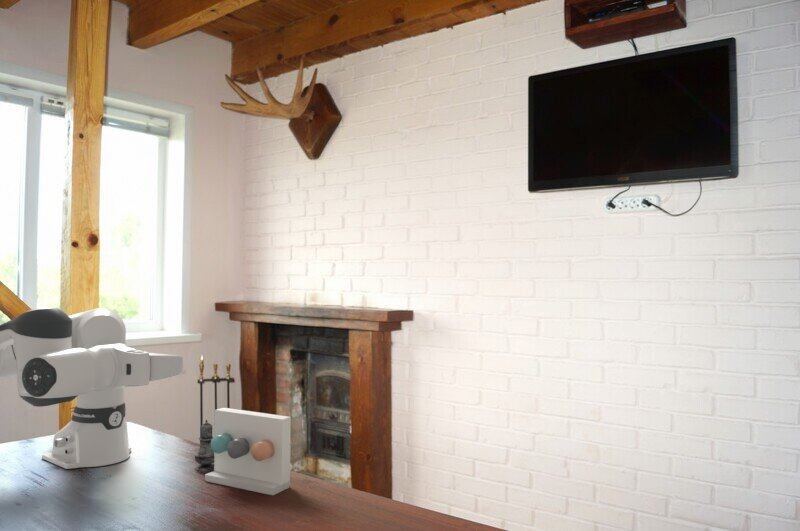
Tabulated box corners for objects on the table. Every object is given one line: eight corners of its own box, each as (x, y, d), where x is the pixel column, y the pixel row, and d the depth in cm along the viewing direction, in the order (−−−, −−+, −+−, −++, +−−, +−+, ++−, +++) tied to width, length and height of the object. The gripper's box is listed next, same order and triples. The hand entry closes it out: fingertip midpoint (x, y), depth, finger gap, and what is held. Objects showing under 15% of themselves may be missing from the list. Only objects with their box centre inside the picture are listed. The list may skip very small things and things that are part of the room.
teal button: (210, 452, 145) (210, 435, 146) (219, 449, 148) (220, 432, 148) (223, 454, 144) (224, 437, 144) (232, 451, 146) (233, 434, 146)
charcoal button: (226, 457, 142) (227, 439, 142) (235, 454, 144) (236, 436, 144) (240, 459, 140) (240, 441, 140) (249, 456, 143) (249, 438, 143)
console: (204, 480, 147) (205, 412, 147) (222, 473, 152) (223, 407, 152) (273, 495, 137) (273, 422, 138) (289, 487, 143) (290, 416, 143)
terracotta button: (251, 459, 140) (251, 441, 140) (259, 456, 143) (260, 438, 143) (265, 462, 138) (265, 444, 138) (273, 458, 141) (274, 441, 141)
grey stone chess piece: (210, 472, 153) (211, 423, 153) (188, 470, 154) (189, 421, 154) (222, 465, 159) (223, 417, 159) (201, 463, 160) (201, 416, 160)
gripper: (78, 377, 129) (134, 369, 141) (148, 386, 120) (201, 376, 132) (78, 347, 129) (134, 341, 141) (149, 353, 120) (202, 346, 132)
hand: (167, 358), depth 137 cm, fingers closed
